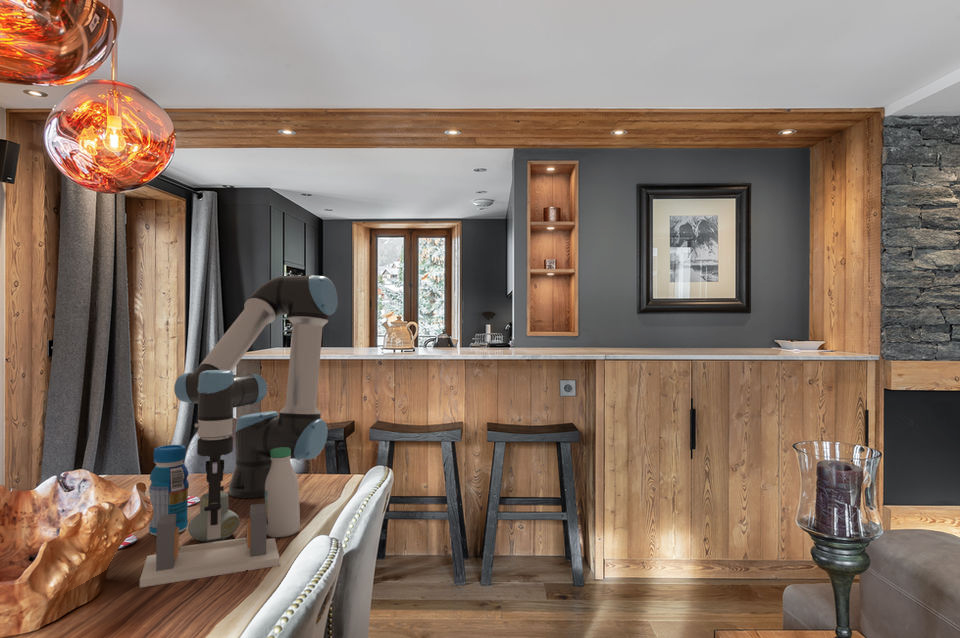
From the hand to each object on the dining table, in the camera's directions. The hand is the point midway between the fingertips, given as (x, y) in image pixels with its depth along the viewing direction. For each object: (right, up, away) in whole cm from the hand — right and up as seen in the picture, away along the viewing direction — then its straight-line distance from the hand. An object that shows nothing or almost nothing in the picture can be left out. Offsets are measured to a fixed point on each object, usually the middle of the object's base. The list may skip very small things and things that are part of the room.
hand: (214, 528), depth 133 cm
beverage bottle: (-13, -2, +4) cm, 14 cm away
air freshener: (0, -2, 0) cm, 2 cm away
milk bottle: (+15, -2, +4) cm, 15 cm away
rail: (+7, -2, -15) cm, 16 cm away
